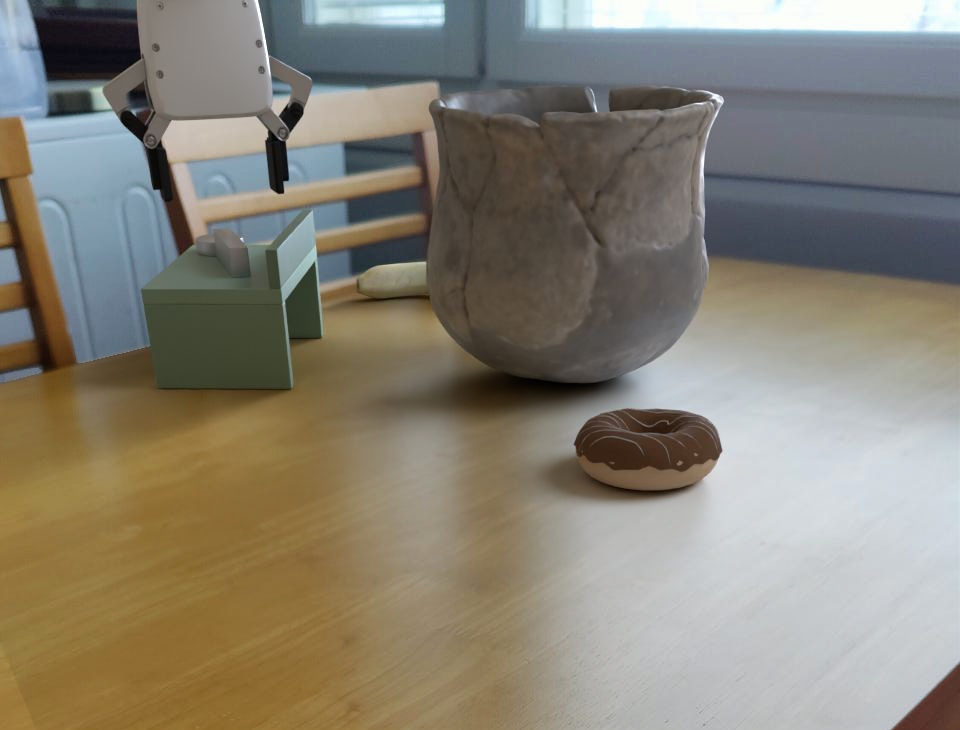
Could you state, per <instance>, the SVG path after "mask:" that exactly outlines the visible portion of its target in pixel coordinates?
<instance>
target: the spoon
mask: <svg viewBox="0 0 960 730" xmlns="http://www.w3.org/2000/svg"><path fill="white" fill-rule="evenodd" d="M194 239H195V241H194V242H195V245H196V248H197V253H198V254H200V255H203V256H212V257H217V258H218V260H219V261H220V262H221V263H222V265H223V266H224V267H225V268H226V270H227V271H228V272H229V274H230V275H231V276H232V277H233V278H242V277H251V272H250V264H249V255H248V247H247V246H246V245H247V244H245V241H244V236H243V235H241V234H238V233H236V232H235V231H234V230H233V229H232V228H230V227H222V228H213V229H212V233H208V234H207V233H206V234H202V235H199V236H197V237H196V238H194Z"/></svg>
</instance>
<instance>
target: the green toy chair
mask: <svg viewBox="0 0 960 730" xmlns="http://www.w3.org/2000/svg"><path fill="white" fill-rule="evenodd" d="M316 241H317V240H316V229H315V218H314V210H313V209H302V210H301V211H300V212H299V213H298V215H296V217H295V218H293V220H292V221H291V222H290V223H288V225H287V226H286V227H285V228H284V229H283V230H282V231H281V232H280V234H278V236H277V237H276V238H275V239H274V240H273V241H272V242H271V243H270V244H245V245H246V246H247V247H248V255H249V264H250V272H251V277H242V278H233V277H232V276H231V275H230V274H229V272H228V271H227V270H226V268H225V267H224V266H223V265H222V263H221V262H220V261H219V260H218V258H217V257H212V256H203V255H200V254H198V253H197V248H196V244H192V245H191V246H190V247H188V248H187V249H185V251H184V252H183V253H181V254H180V255H179V256H178V257H177V258H175V259H174V260H173V261H172V262H171V263H169V264H168V265H167V266H166V267H165V268H164V269H162V270H161V271H160V272H159V273H158V274H157V275H155V276H154V277H153V278H152V279H151V280H149V281H148V282H147V283H146V284H145V285H144V286H143V287H141V288H140V293H141V298H142V304H143V311H144V316H145V323H146V328H147V335H148V340H149V346H150V351H151V352H150V353H151V359H152V364H153V370H154V374H155V375H154V376H155V382H156V387H157V389H172V390H173V389H174V390H175V389H179V390H180V389H182V390H183V389H185V390H186V389H188V390H191V389H193V390H196V389H197V390H198V389H200V390H207V389H208V390H211V389H212V390H225V389H226V390H292V388H293V387H294V376H293V364H292V355H291V345H290V339H323V337H324V333H325V332H324V323H323V311H322V309H323V308H322V298H321V288H320V276H319V263H318V252H317V245H316V244H317V242H316Z"/></svg>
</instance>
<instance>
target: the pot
mask: <svg viewBox="0 0 960 730" xmlns="http://www.w3.org/2000/svg"><path fill="white" fill-rule="evenodd" d="M724 103H725V101H724V98H723V96H722V95H719V94H716V93H713V92H710V91H708V90H701V89H700V90H699V89H694V90H691V91H690V90H687V89H684V88H681V87H671V86H661V87H660V86H659V87H658V86H656V85H636V86H623V87H615V88H610V90H609V91H608V110H609V111H598V110H597V103H596V98H595V94H594V91H593V90H592V88H591V87H590V86H587V85H575V86H574V85H535V86H528V87H522V88H518V89H517V90H513V89H511V88H497V89H486V90H471V91H459V92H458V91H457V92H454V93H445V94H444V95H442V96H440V97H439V98H436V99H435V98H434V99H433V100H432V101H430V102H429V105H428V112H429V114H430V116H431V118H432V121H433V122H432V123H433V125H434V130H435V134H436V140H437V153H438V165H439V166H438V167H439V168H438V169H439V172H438V179H437V186H436V191H435V197H434V201H433V202H434V204H433V211H432V217H431V223H430V226H431V227H430V230H429V241H428V246H427V252H426V259H425V262H426V282H427V287H428V290H429V293H430V294H429V300H430V301H429V302H430V304H431V307H432V310H433V312H434V314H435V317H436V318H437V320H438V322H439V323H440V325H441V326H442V327H443V329H444V330H445V331H446V333H447V334H448V335H449V336H450V338H451V339H452V340H453V341H454V342H455V343H456V344H457V345H458V346H459V347H461V348H462V349H463V350H464V351H465V352H467V353H468V354H469V355H471V356H472V357H473V358H475V359H476V360H478V361H479V362H481V363H482V364H484V365H486V366H487V367H489V368H491V369H495V370H496V371H500V372H503V373H505V374H508V375H512V376H514V377H518V378H523V379H525V378H526V379H532V380H539V381H546V382H551V383H552V382H553V383H562V384H563V383H564V384H591V383H593V384H594V383H600V382H605V381H609V380H612V379H615V378H618V377H621V376H622V375H626V374H628V373H629V374H630V372H634V371H636V370H638V369H640V368H642V367H644V366H646V365H648V364H651V363H652V362H653V361H655V360H657V359H659V358H660V357H661V356H663V355H664V354H665V353H666V352H668V351H669V350H670V349H672V347H673V346H674V345H675V344H676V343H677V342H678V340H680V338H681V337H682V335H683V334H684V333H685V331H686V330H687V329H688V327H689V326H690V325H691V324H692V321H693V320H694V318H695V317H696V315H697V313H698V311H699V308H700V306H701V304H702V299H703V295H704V293H705V290H706V287H707V284H708V278H709V274H710V267H709V259H708V256H707V248H706V242H705V239H704V235H705V223H706V219H705V216H706V208H705V203H706V201H705V200H706V199H705V175H704V174H705V173H704V167H705V153H706V148H707V144H708V138H709V135H710V133H711V132H710V131H711V129H712V126H713V124H714V122H715V120H716V118H717V116H718V113H719V111H720V108H721V107H722V106H723V104H724Z"/></svg>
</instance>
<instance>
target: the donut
mask: <svg viewBox="0 0 960 730" xmlns="http://www.w3.org/2000/svg"><path fill="white" fill-rule="evenodd" d="M720 438H721V437H720V434H719V431H718V428H717V427H716V425H714V424H713V422H712V421H710V420H709V419H708V418H707V417H705V416H703V415H702V414H697V413H694V412H690V411H687V410H683V409H667V408H632V407H631V408H629V407H627V408H621V409H615V410H611V411H607V412H602V413H601V412H600V413H599V414H597V415H595V416H593V417H591V418H589V419H588V420H587V421H585V423H584V424H583V425H582V427H581V428H580V430H579V431H578V432H577V434H576V437H575V439H574V442H573V444H572V445H573V446H574V447H575V454H576V458H577V462H578V463H579V465H580V467H581V469H583V471H585V473H586V474H587V475H589V476H590V477H591V478H592V479H594V480H596V481H598V482H601V483H603V484H605V485H609V486H611V487H615V488H621V489H625V490H633V491H668V490H673V489H679V488H683V487H687V486H690V485H693V484H695V483H698V482H699V481H701V480H702V479H704V478H705V477H707V476H708V475H709V474H710V473H711V472H712V471H713V470H714V468H715V467H716V465H717V463H718V461H719V459H720V457H721V456H720V455H721V454H722V453H723V447H722V443H721V439H720Z"/></svg>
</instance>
